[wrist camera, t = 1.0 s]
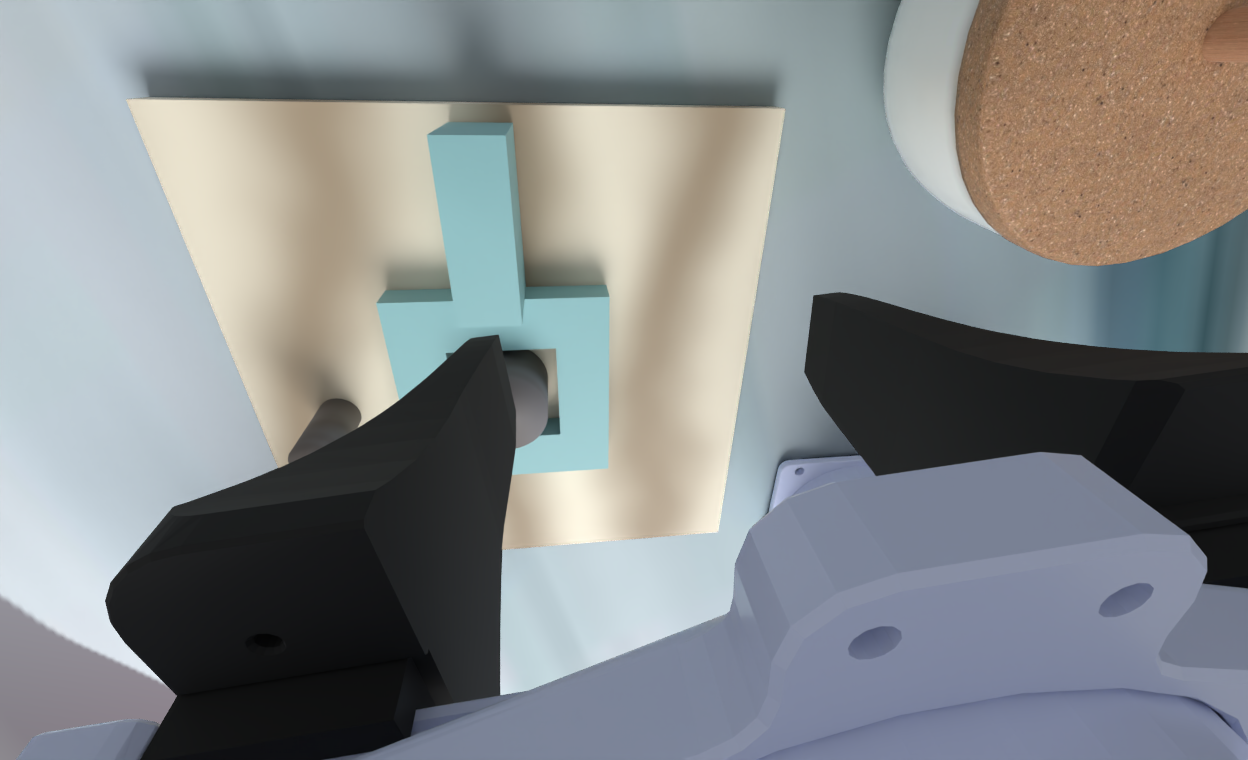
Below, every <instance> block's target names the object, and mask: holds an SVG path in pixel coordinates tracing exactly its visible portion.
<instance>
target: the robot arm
mask: <svg viewBox="0 0 1248 760" xmlns="http://www.w3.org/2000/svg"><path fill="white" fill-rule="evenodd" d="M804 372H805V374H806V376H807V378H808V380H809V382H810V384H811V386H812V388H813V390H814V392H815V394H816V396H817V397H818V399H819V401H820V403H821V404H822V406H823V407H824V409H825V410H826V411H827V413H828V414H829V415H830V417H831V418H832V419H833V421H834V422H835V423H836V425H837V426H838V427H839V429H840V430H841V431H842V433H843V434H844V435H845V436H846V438H847V439H848V440H849V442H850V443H851V444H852V445H853V447H854V448H855V449H856V451H857V452H858V453H859V455H858V456H843V457H828V458H813V459H798V460H788V461H785V462H783V463H782V464H781V465H780V466H779V468H778V472H777V476H776V481H775V485H774V490H773V494H772V499H771V503H770V508H769V512H768V514H766V515H765V516H764V517H763V518H762V519H760V520H759V521H758V522H757V523H756V524H754V525H753V526H752V528H751V529H750V530H749V532H748V534H747V536H746V539H745V541H744V544H743V546H742V548H741V551H740V553H739V555H738V558H737V560H736V563H735V572H734V592H733V600H732V604H731V608H730V611H729V612H728V613H727V614H725V615H722V616H719V617H717V618H714V619H712V620H709V621H707V622H704V623H701V624H699V625H696V626H694V627H691V628H689V629H686V630H683V631H681V632H678V633H676V634H673V635H670V636H668V637H665V638H663V639H660V640H658V641H655V642H652V643H650V644H647V645H645V646H642V647H640V648H637V649H634V650H632V651H629V652H627V653H624V654H622V655H619V656H616V657H614V658H611V659H609V660H606V661H604V662H601V663H598V664H596V665H593V666H591V667H588V668H586V669H583V670H580V671H578V672H575V673H573V674H570V675H568V676H565V677H562V678H560V679H557V680H555V681H552V682H550V683H547V684H544V685H542V686H539V687H537V688H534V689H532V690H529V691H524V692H518V693H512V694H506V695H500V610H501V569H502V543H503V533H504V524H505V517H506V511H507V504H508V497H509V491H510V484H511V478H512V471H513V464H514V457H515V450H516V408H515V404H514V400H513V395H512V391H511V386H510V382H509V377H508V373H507V369H506V364H505V360H504V355H503V351H502V347H501V342H500V338H499V335H491V336H483V337H475V338H470V339H469V340H468V341H466V342H465V343H464V344H463V345H462V346H461V347H459V348H458V349H457V350H456V351H455V352H454V353H453V354H452V355H451V356H450V357H449V358H448V359H447V360H445V361H444V362H443V363H442V364H441V365H440V366H439V367H438V368H437V369H436V370H435V371H433V372H432V373H431V374H430V375H429V376H428V377H427V378H426V379H424V380H423V381H422V382H421V383H419V384H418V385H417V386H416V387H415V388H413V389H412V390H411V391H410V392H408V393H407V394H406V395H405V396H404V397H402V398H401V399H400V400H399V401H397V402H396V403H395V404H393V405H392V406H390V407H389V408H388V409H386V410H385V411H383V412H382V413H380V414H379V415H377V416H376V417H374V418H373V419H371V420H370V421H368V422H366V423H365V424H363V425H362V426H360V427H358V428H357V429H355V430H353V431H351V432H350V433H348V434H346V435H344V436H342V437H340V438H339V439H337V440H335V441H333V442H331V443H329V444H327V445H326V446H324V447H322V448H320V449H318V450H316V451H314V452H312V453H310V454H308V455H306V456H304V457H302V458H300V459H298V460H295V461H293V462H291V463H289V464H287V465H284V466H282V467H280V468H277V469H275V470H273V471H270V472H268V473H266V474H263V475H261V476H258V477H256V478H253V479H251V480H248V481H246V482H243V483H240V484H238V485H235V486H232V487H229V488H226V489H224V490H221V491H218V492H215V493H212V494H210V495H207V496H204V497H201V498H198V499H196V500H193V501H190V502H187V503H184V504H181V505H178V506H174V507H173V508H172V509H171V510H170V511H169V513H168V514H167V515H166V516H165V517H164V519H163V520H162V521H161V522H160V523H159V525H158V526H157V527H156V528H155V529H154V531H153V532H152V533H151V534H150V535H149V537H148V538H147V539H146V540H145V542H144V543H143V544H142V545H141V546H140V548H139V549H138V550H137V551H136V552H135V554H134V555H133V556H132V557H131V558H130V560H129V561H128V562H127V563H126V564H125V566H124V567H123V568H122V569H121V570H120V572H119V573H118V574H117V575H116V577H115V578H114V579H113V580H112V581H111V583H110V586H109V590H108V593H107V597H106V600H105V602H106V606H107V611H108V615H109V620H110V622H111V624H112V626H113V627H114V628H115V630H116V631H117V633H118V634H119V635H120V637H121V638H122V640H123V641H124V642H125V643H126V644H127V645H128V646H129V647H130V648H131V650H132V651H133V652H134V653H135V654H136V655H137V656H138V657H139V658H140V659H141V660H142V661H143V662H144V663H145V664H146V665H147V666H148V667H149V668H150V669H151V670H152V671H153V672H154V673H155V674H156V675H157V676H158V677H159V678H160V679H161V680H162V681H163V682H164V683H165V684H166V685H167V686H168V687H169V688H170V689H171V690H172V691H173V692H174V693H175V694H176V695H178V696H177V697H176V699H175V701H174V703H173V704H172V706H171V708H170V709H169V711H168V713H167V715H166V716H165V718H164V720H163V721H162V723H161V725H160V724H158V723H156V722H153V721H148V720H143V719H124V720H118V721H113V722H106V723H100V724H94V725H88V726H81V727H75V728H69V729H63V730H57V731H51V732H46V733H42V734H40V735H38V736H35V737H33V738H32V739H31V740H30V742H29V743H28V744H27V746H26V747H25V748H24V750H23V751H22V752H21V754H20V755H19V756H18V758H17V759H16V760H1248V353H1206V352H1167V351H1150V350H1132V349H1119V348H1107V347H1095V346H1087V345H1078V344H1069V343H1061V342H1053V341H1046V340H1039V339H1032V338H1027V337H1021V336H1016V335H1010V334H1005V333H999V332H994V331H989V330H985V329H980V328H976V327H971V326H967V325H963V324H959V323H955V322H951V321H947V320H944V319H940V318H936V317H933V316H929V315H926V314H922V313H919V312H915V311H912V310H908V309H905V308H902V307H898V306H895V305H891V304H888V303H884V302H881V301H878V300H874V299H870V298H866V297H863V296H858V295H854V294H849V293H841V292H838V293H830V294H822V295H814V296H813V304H812V313H811V321H810V329H809V338H808V346H807V354H806V362H805V371H804ZM800 467H801V468H800ZM797 468H800V469H798V470H796V469H797Z"/></svg>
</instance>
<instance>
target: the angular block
mask: <svg viewBox="0 0 1248 760" xmlns="http://www.w3.org/2000/svg"><path fill="white" fill-rule="evenodd" d="M427 140H428V146H429V152H430V159H431V165H432V171H433V178H434V184H435V190H436V197H437V203H438V210H439V216H440V222H441V229H442V235H443V241H444V248H445V254H446V260H447V267H448V273H449V279H450V286H451V289H421V290H385V292H384V293H383V294H382V296H381V297H380V299H379V300H378V301H377V303H376V305H377V309H378V313H379V318H380V322H381V326H382V330H383V334H384V339H385V343H386V347H387V351H388V355H389V359H390V364H391V368H392V372H393V376H394V380H395V385H396V389H397V393H398V397H399V400H400V399H401V398H402V397H404V396H405V395H406V394H407V393H408V392H410V391H411V390H412V389H413V388H415V387H416V386H417V385H418V384H419V383H421V382H422V381H423V380H424V379H426V378H427V377H428V376H429V375H430V374H431V373H432V372H433V371H435V370H436V369H437V368H438V367H439V366H440V365H441V364H442V363H443V362H444V361H445V360H447V359H448V358H449V357H450V356H451V355H452V354H453V353H454V352H455V351H456V350H457V349H458V348H459V347H461V346H462V345H463V344H464V343H465V342H466V341H468V340H469V339H470V338H475V337H483V336H491V335H499V338H500V342H501V347H502V351H505V350H531V349H556V359H557V378H558V397H559V416H560V418H548V420H547V424H546V427H545V429H544V431H543V432H542V433H541V435H540V436H539V437H538V438H537V439H535V440H534V441H533V442H531V443H529V444H527V445H525V446H523V447H520V448H516V450H515V457H514V464H513V471H512V475H518V474H533V473H548V472H563V471H578V470H594V469H608V450H609V304H610V297H609V293H608V289H607V285H580V286H540V287H526V281H525V269H524V256H523V244H522V231H521V219H520V206H519V193H518V181H517V168H516V156H515V143H514V131H513V123H493V122H447V123H445V124H444V125H442V126H441V127H439V128H437V129H436V130H434V131H432V132H431V133H429V134H427Z"/></svg>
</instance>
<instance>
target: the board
mask: <svg viewBox="0 0 1248 760" xmlns="http://www.w3.org/2000/svg"><path fill="white" fill-rule="evenodd" d="M126 101H127V103H128V105H129V108H130V110H131V113H132V115H133V118H134V120H135V122H136V125H137V127H138V130H139V132H140V134H141V137H142V139H143V142H144V144H145V147H146V149H147V151H148V154H149V156H150V159H151V161H152V163H153V166H154V168H155V171H156V173H157V176H158V178H159V180H160V183H161V185H162V188H163V190H164V193H165V195H166V197H167V200H168V202H169V205H170V207H171V209H172V212H173V214H174V217H175V219H176V222H177V224H178V226H179V229H180V231H181V234H182V236H183V238H184V241H185V243H186V246H187V248H188V251H189V253H190V255H191V258H192V260H193V263H194V265H195V268H196V270H197V272H198V275H199V277H200V280H201V282H202V284H203V287H204V289H205V292H206V294H207V297H208V299H209V301H210V304H211V306H212V309H213V311H214V314H215V316H216V318H217V321H218V323H219V326H220V328H221V330H222V333H223V335H224V338H225V340H226V343H227V345H228V347H229V350H230V352H231V355H232V357H233V359H234V362H235V364H236V367H237V369H238V372H239V374H240V376H241V379H242V381H243V384H244V386H245V389H246V391H247V393H248V396H249V398H250V401H251V403H252V405H253V408H254V410H255V413H256V415H257V418H258V420H259V422H260V425H261V427H262V430H263V432H264V434H265V437H266V439H267V442H268V444H269V447H270V449H271V451H272V454H273V456H274V459H275V461H276V464H277V466H278V468H280V467H282V466H284V465H287V464H289V463H291V462H293V461H295V460H298V459H300V458H302V457H304V456H306V455H308V454H310V453H312V452H314V451H316V450H318V449H320V448H322V447H324V446H326V445H327V444H329V443H331V442H333V441H335V440H337V439H339V438H340V437H342V436H344V435H346V434H348V433H350V432H351V431H353V430H355V429H357V428H358V427H360V426H362V425H363V424H365V423H366V422H368V421H370V420H371V419H373V418H374V417H376V416H377V415H379V414H380V413H382V412H383V411H385V410H386V409H388V408H389V407H390V406H392V405H393V404H395V403H396V402H397V401H399V397H398V393H397V389H396V385H395V380H394V376H393V372H392V368H391V364H390V359H389V355H388V351H387V347H386V343H385V339H384V334H383V330H382V326H381V322H380V318H379V313H378V309H377V305H376V303H377V301H378V300H379V299H380V297H381V296H382V294H383V293H384V292H385V290H421V289H451V286H450V279H449V273H448V267H447V260H446V254H445V248H444V241H443V235H442V229H441V222H440V216H439V210H438V203H437V197H436V190H435V184H434V178H433V171H432V165H431V159H430V152H429V146H428V140H427V134H429V133H431V132H432V131H434V130H436V129H437V128H439V127H441V126H442V125H444V124H445V123H447V122H493V123H513V131H514V143H515V156H516V168H517V181H518V193H519V206H520V219H521V231H522V244H523V256H524V269H525V281H526V287H540V286H580V285H607V289H608V293H609V297H610V304H609V450H608V469H594V470H578V471H563V472H548V473H533V474H518V475H512V478H511V484H510V491H509V497H508V504H507V511H506V517H505V524H504V533H503V543H502V550H506V549H518V548H530V547H542V546H554V545H567V544H579V543H591V542H603V541H615V540H628V539H640V538H652V537H664V536H676V535H689V534H701V533H713V532H718V529H719V523H720V517H721V510H722V504H723V498H724V492H725V485H726V479H727V473H728V466H729V460H730V454H731V448H732V441H733V435H734V429H735V423H736V416H737V410H738V404H739V398H740V391H741V385H742V379H743V372H744V366H745V360H746V354H747V347H748V341H749V335H750V329H751V322H752V316H753V310H754V303H755V297H756V291H757V285H758V278H759V272H760V266H761V260H762V253H763V247H764V241H765V234H766V228H767V222H768V216H769V209H770V203H771V197H772V191H773V184H774V178H775V172H776V165H777V159H778V153H779V147H780V140H781V134H782V128H783V122H784V115H785V109H784V108H779V107H773V106H706V105H638V104H571V103H504V102H437V101H370V100H303V99H236V98H169V97H145V98H133V99H126ZM503 355H504V360H505V364H506V369H507V373H508V377H509V382H510V386H511V391H512V395H513V400H514V404H515V408H516V448H520V447H523V446H525V445H527V444H529V443H531V442H533V441H534V440H535V439H537V438H538V437H539V436H540V435H541V433H542V432H543V431H544V429H545V427H546V424H547V420H548V418H560V416H559V397H558V378H557V359H556V349H531V350H505V351H503Z"/></svg>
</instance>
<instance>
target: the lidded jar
mask: <svg viewBox="0 0 1248 760" xmlns="http://www.w3.org/2000/svg"><path fill="white" fill-rule="evenodd" d="M883 96H884V105H885V114H886V120H887V123H888V127H889V130H890V134H891V138H892V140H893V142H894V144H895V146H896V148H897V150H898V152H899V154H900V156H901V158H902V160H903V162H904V164H905V166H906V167H907V169H908V170H909V171H910V173H911V174H912V175H913V176H914V178H915V179H916V180H917V182H918V183H919V184H921V185H922V186H923V187H924V188H925V189H926V190H927V191H928V192H929V193H930V194H931V195H933V196H934V197H935V198H936V199H937V200H938V201H940V202H941V203H942V204H943V205H944V206H946V207H947V208H949V209H951V210H952V211H954V212H955V213H957V214H958V215H960V216H961V217H963V218H965V219H967V220H969V221H971V222H973V223H975V224H977V225H979V226H981V227H983V228H985V229H988V230H990V231H992V232H994V233H996V234H999V235H1001V236H1002V237H1004V238H1005V239H1006V240H1008V241H1010V242H1012V243H1014V244H1016V245H1018V246H1020V247H1022V248H1024V249H1026V250H1028V251H1030V252H1032V253H1034V254H1037V255H1039V256H1042V257H1044V258H1047V259H1051V260H1055V261H1059V262H1063V263H1067V264H1071V265H1089V266H1101V265H1110V264H1118V263H1126V262H1130V261H1134V260H1137V259H1141V258H1145V257H1149V256H1153V255H1157V254H1161V253H1163V252H1166V251H1168V250H1170V249H1173V248H1175V247H1178V246H1180V245H1183V244H1185V243H1188V242H1190V241H1192V240H1194V239H1196V238H1198V237H1200V236H1202V235H1204V234H1206V233H1208V232H1210V231H1212V230H1214V229H1216V228H1218V227H1220V226H1222V225H1224V224H1225V223H1227V222H1228V221H1230V220H1231V219H1233V218H1234V217H1236V216H1237V215H1239V214H1240V213H1242V212H1244V211H1245V210H1247V209H1248V0H902V1H901V3H900V6H899V8H898V10H897V14H896V17H895V20H894V24H893V27H892V31H891V34H890V38H889V42H888V48H887V54H886V60H885V66H884V88H883Z"/></svg>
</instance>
